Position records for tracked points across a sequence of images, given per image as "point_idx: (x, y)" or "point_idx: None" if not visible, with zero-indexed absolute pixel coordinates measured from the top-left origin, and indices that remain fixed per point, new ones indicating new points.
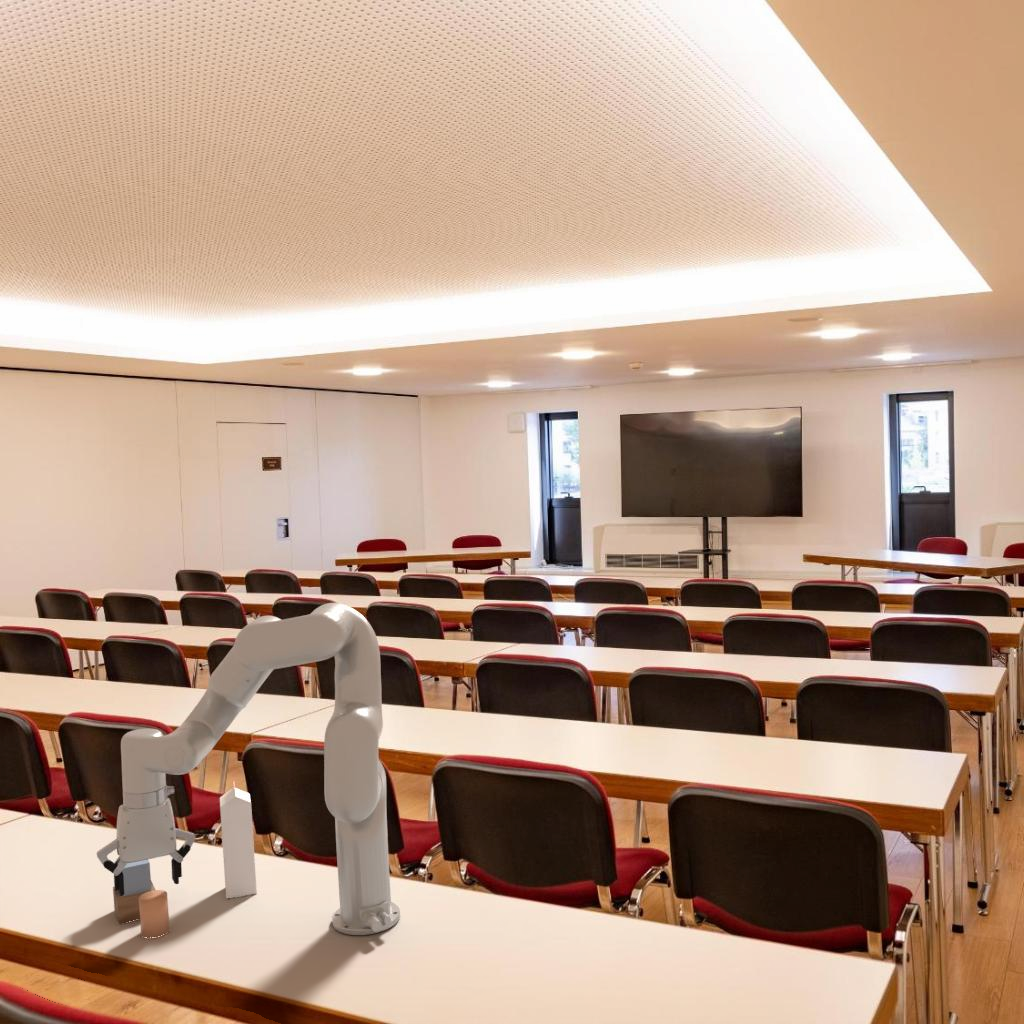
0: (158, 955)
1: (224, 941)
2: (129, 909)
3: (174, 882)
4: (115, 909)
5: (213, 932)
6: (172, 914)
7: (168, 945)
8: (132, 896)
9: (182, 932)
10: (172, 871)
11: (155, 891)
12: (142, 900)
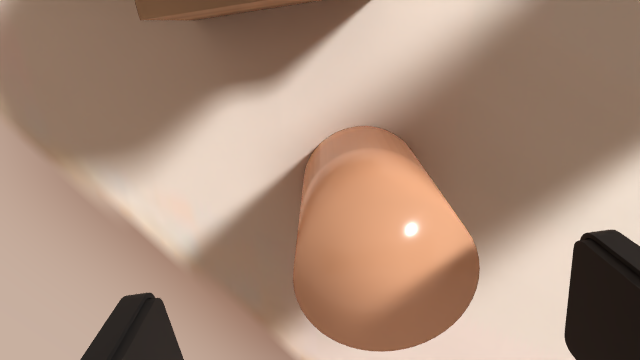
0: (362, 354)
1: None
2: (234, 10)
3: (569, 334)
4: None
5: None
6: (453, 20)
7: None
8: (242, 4)
9: None
10: (627, 321)
11: (408, 218)
12: (317, 313)
